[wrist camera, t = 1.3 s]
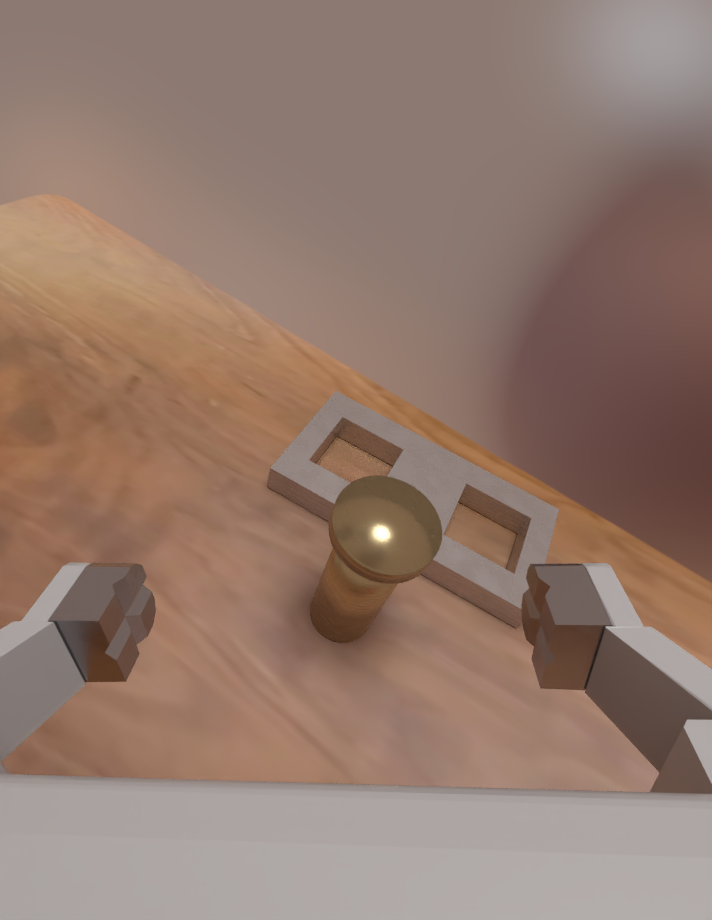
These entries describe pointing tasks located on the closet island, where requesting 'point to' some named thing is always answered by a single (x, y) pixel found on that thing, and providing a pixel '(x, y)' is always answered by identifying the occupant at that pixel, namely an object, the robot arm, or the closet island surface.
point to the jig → (444, 488)
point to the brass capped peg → (372, 553)
